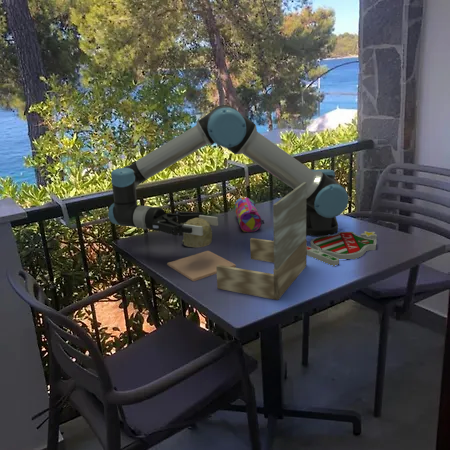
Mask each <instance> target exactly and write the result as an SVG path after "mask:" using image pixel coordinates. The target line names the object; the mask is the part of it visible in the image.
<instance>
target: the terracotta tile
mask: <svg viewBox="0 0 450 450" xmlns="http://www.w3.org/2000/svg"><path fill="white" fill-rule="evenodd" d="M166 265H167V266H168V267H170V268H171V269H173V270H174V271H176V272H177V273H179V274H181V275H182V276H184V277H186V278H187V279H189V280H190V281H192V282H196V281H199V280H202V279H204V278H205V279H206V278H207V277H211V276H213V275H217V271H216V266H217V265H222V266H228V267H234V268H237V265H236V264H235V263H233V262H232V261H229V260H228V259H226V258H224V257H222V256H220V255H218V254H216V253H214V252H212V251H210V250H205V251H202V252H198V253H195V254H192V255H189V256H186V257H182V258H179V259H175V260H173V261H169V262H167V263H166Z"/></svg>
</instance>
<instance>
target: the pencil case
mask: <svg viewBox="0 0 450 450" xmlns="http://www.w3.org/2000/svg"><path fill="white" fill-rule="evenodd" d="M234 212H235V215H236V218H237V221H238V224H239V228H240V229H241V230H242V232H244V233H254V232H256V231H259V230H260V228H261V226H262V225H264V224H265V220H264V219H263V218H262V216H261V215H260V214H259V211H258V210H257V208H256V203H255V201H254V200H252V199H251V198H249V197H239V198H238V199H237V200H236V201H235V203H234Z"/></svg>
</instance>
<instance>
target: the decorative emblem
mask: <svg viewBox="0 0 450 450" xmlns="http://www.w3.org/2000/svg"><path fill="white" fill-rule="evenodd" d="M377 240H378V234H376V232H375V231H370V232H369V231H366V230H364V232H363V233H360V235H359V234H356V233H355V232H354V231H337V232H336V233H334V234H331V235H327V236H316V237H315V238H313V239H311V240H310V246H308V245H307V256H308V257H310V258H312V257H313V259H315V258H316V259H315V260H317V259H318V260H317V261H319V260H320V262H322V261H323V262H322V263H324V262H325V263H324V264H326V263H328V264H327V265H329V264H330V265H329V266H331V265H333V266H332V267H334V266H335V265H338V264H339V265H340V260H339V259H353V260H357V259H359V257H360V258H361V256H362V257H363V256H364V255H365V253H367V252H368V251H376V250H377ZM366 251H367V252H366ZM356 258H357V259H356ZM339 265H338V266H339ZM335 267H336V266H335Z"/></svg>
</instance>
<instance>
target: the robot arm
mask: <svg viewBox="0 0 450 450" xmlns="http://www.w3.org/2000/svg"><path fill="white" fill-rule="evenodd" d="M214 144H216V145H218V146H220V147H222V148H224V149H226V150H228V151H229V152H231V153H233V154H234V155H241V154H243V155H244V156H245V157H246V158H248V159H250V160H251V161H252V162H254V163H255V164H256V165H258V166H259V167H261V168H262V169H264V170H265V171H266V172H268V173H270V174H271V175H272V176H274V177H275V178H277V179H278V180H280V181H281V182H282V183H284V184H285V185H287V186H288V187H289V188H291V189H293V190H294V189H295V188H297V187H298V186H299V185H301V184H302V183H304V182H307V187H306V236H312V237H320V236H328V235H335V234H337V233H338V232H339V223H338V219H337V217H338V216H340V215H341V214H343V213H344V212H345V210H346V208H347V207H348V204H349V196H348V192H347V191H346V189H345V187H343V185H341V184H339V183H338V182H337V181H336V180H335V179H336V174H335V171H334V170H333V169H326V168H325V169H323V168H322V169H321V168H320V169H311V168H309V167H307V166H306V165H305V164H303V163H302V162H301V161H299V160H298V159H296V158H295V157H294V156H292V155H291V154H289V153H288V152H287V151H285V150H284V149H282V148H280V146H278V145H276V143H274V142H273V141H271V140H270V139H268V138H267V137H266V136H265V135H263V134H261V133H260V132H258V129H257V124H255V123H254V122H252V120H250V119H249V118H247V117H246V116H244V115H243V114H242V113H241V112H239V111H238V110H237V109H236V108H235V107H233V106H231V105H227V104H224V105H223V104H222V105H219V106H216V107H214V108H213V109H212V110H211V111H210V112H209V113H208V114H206V115H204V116H203V117H201V118H200V119H198V120H197V121H196V124H195V125H194V126H192V127H191V128H189V129H187V130H186V131H184V132H182V133H181V134H179V135H177V136H176V137H174V138H173V139H171V140H169V141H167V142H166V143H164V144H162V145H161V146H159V147H157V148H156V149H154V150H152V151H151V152H149V153H147V154H146V155H144V156H143V157H141V158H139V159H138V160H136V161H135V162H132V163H131V164H129V165H126V166H124V167H119V168H115V169H113V170H112V171H111V173H110V175H111V180H110V182H111V186H112V193H113V194H112V195H113V200H114V201H113V203H112V204H111V205H110V206H109V208H108V213H107V215H108V220H109V221H110V222H111V224H114V225H117V226H121V227H129V228H138V229H143V230H144V231H145V230H150V231H158V232H161V233H166V234H170V235H173V236H179V237H183V236H184V234H183V233H186V234H193V235H200V236H202V235H203V226H195V225H188V224H186V222H187V221H188V220H190V219H193V218H201V219H204V220H206V221H207V222H208V223H209V224H210V226H213V227H214V226H216V227H218V226H219V217H218V216H210V215H203V212H201V211H199V212H197V211H196V212H195V211H180V210H174V213H172V212H166V211H165V210H164V209H163V208H162V207H154V206H147V205H139V204H138V198H137V187H138V186H139V185H140V184H143V183H144V182H146V181H147V180H149V179H150V178H152V177H154V176H155V175H157V174H159V173H160V172H163V171H164V170H165V169H167V168H169V167H171V166H172V165H174V164H176V163H177V162H179V161H181V160H183V159H185V158H186V157H188V156H189V155H191V154H192V153H194V152H197V150H199V149H201V148H203V147H205V146H206V145H210V146H212V145H214ZM182 224H183V225H182Z"/></svg>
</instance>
